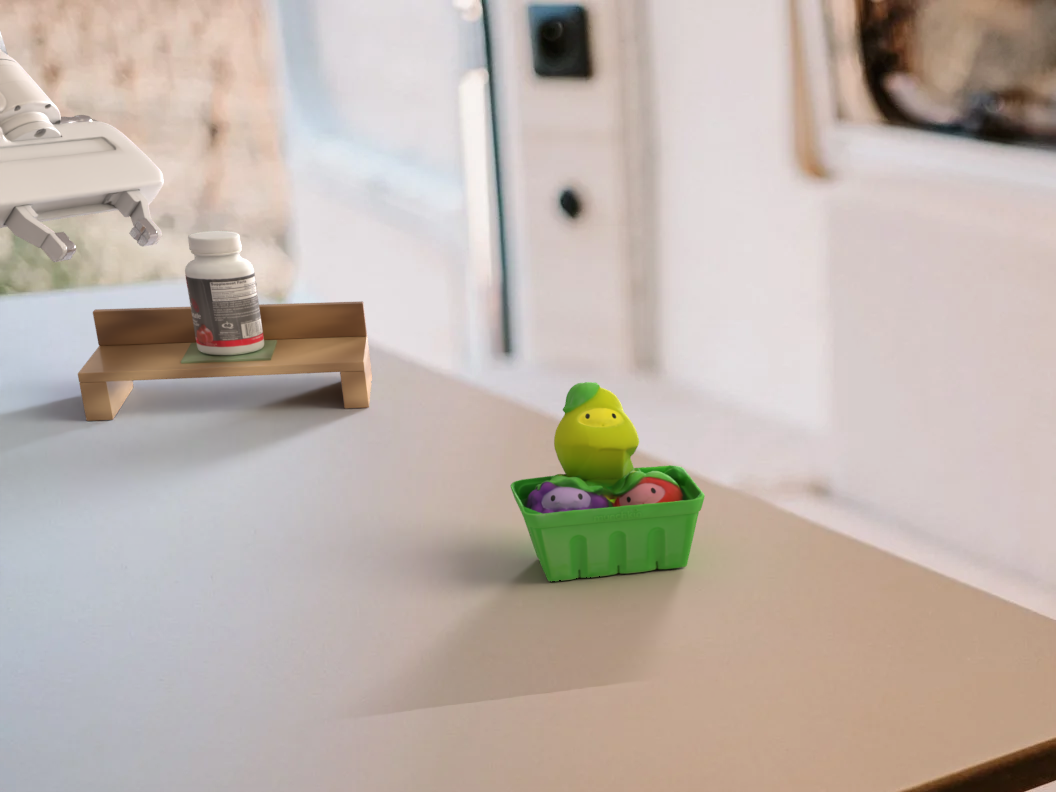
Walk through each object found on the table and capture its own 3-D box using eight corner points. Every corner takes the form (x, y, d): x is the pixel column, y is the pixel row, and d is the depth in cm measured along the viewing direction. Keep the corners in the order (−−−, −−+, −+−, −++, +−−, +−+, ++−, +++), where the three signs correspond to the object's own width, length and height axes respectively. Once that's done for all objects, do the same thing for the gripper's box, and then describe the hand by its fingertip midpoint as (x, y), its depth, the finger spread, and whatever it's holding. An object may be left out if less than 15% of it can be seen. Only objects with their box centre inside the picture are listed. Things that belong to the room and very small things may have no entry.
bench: (86, 421, 132) (70, 336, 130) (108, 388, 142) (94, 309, 139) (369, 407, 139) (359, 326, 136) (372, 377, 148) (363, 301, 146)
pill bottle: (189, 347, 139) (170, 232, 135) (253, 340, 142) (236, 227, 139) (209, 359, 135) (190, 241, 132) (274, 351, 139) (258, 236, 135)
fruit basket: (530, 592, 100) (516, 415, 96) (512, 546, 108) (497, 380, 103) (710, 573, 104) (704, 402, 100) (680, 530, 112) (673, 370, 107)
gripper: (83, 138, 148) (184, 255, 149) (-121, 158, 130) (-4, 291, 131) (113, 90, 145) (216, 209, 146) (-91, 103, 127) (29, 239, 128)
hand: (111, 248), depth 138 cm, fingers open, 8 cm apart
